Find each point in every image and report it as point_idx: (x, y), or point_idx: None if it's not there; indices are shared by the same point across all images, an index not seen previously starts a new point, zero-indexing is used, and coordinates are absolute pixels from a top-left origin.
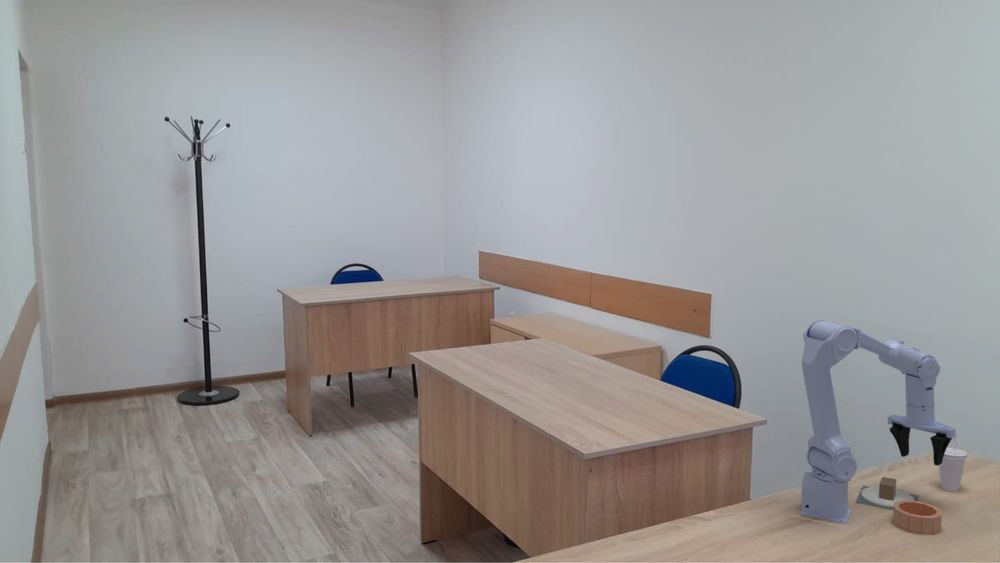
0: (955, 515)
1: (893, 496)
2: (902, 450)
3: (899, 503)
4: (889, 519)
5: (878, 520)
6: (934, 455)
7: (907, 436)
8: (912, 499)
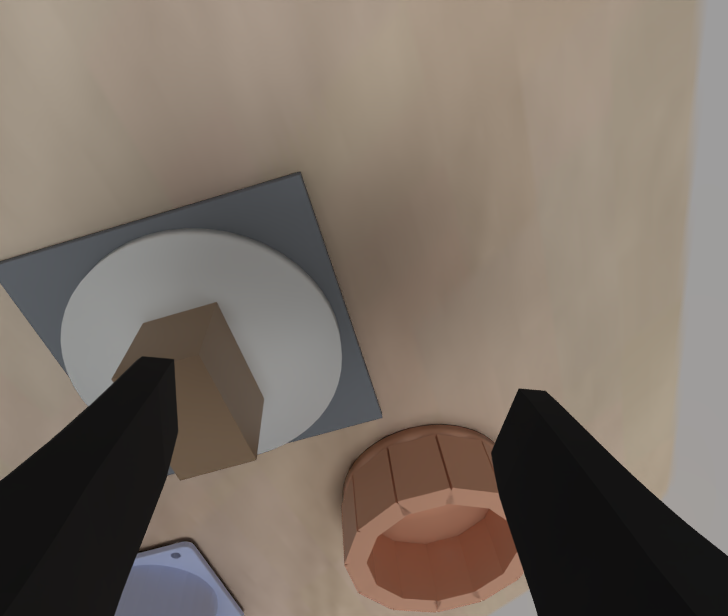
0: (529, 281)
1: (261, 414)
2: (152, 513)
3: (364, 560)
4: (325, 499)
5: (301, 529)
6: (532, 569)
7: (57, 599)
8: (322, 316)
